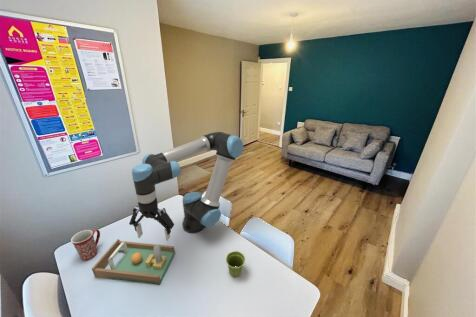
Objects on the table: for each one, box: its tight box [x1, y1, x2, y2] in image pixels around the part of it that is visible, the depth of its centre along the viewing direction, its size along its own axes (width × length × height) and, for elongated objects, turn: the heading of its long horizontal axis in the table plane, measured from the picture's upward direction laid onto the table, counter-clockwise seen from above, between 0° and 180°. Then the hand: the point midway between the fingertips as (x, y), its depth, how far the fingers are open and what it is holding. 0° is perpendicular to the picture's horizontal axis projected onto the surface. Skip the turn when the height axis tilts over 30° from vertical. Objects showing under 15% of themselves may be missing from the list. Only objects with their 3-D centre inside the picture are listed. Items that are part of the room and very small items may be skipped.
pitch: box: [91, 239, 176, 286], centre depth 98 cm, size 32×18×9 cm, turn 84°
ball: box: [131, 253, 142, 264], centre depth 98 cm, size 5×5×5 cm
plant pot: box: [225, 250, 246, 278], centre depth 96 cm, size 9×9×9 cm
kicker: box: [145, 244, 166, 269], centre depth 96 cm, size 8×6×11 cm
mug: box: [70, 228, 101, 261], centre depth 104 cm, size 13×9×14 cm
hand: (154, 237), depth 91 cm, fingers open, 13 cm apart
